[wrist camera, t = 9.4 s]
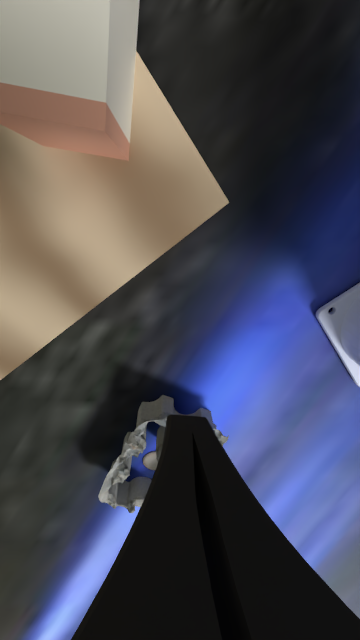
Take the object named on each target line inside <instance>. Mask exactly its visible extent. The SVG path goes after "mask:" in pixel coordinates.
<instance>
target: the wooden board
mask: <svg viewBox="0 0 360 640" xmlns="http://www.w3.org/2000/svg"><path fill="white" fill-rule="evenodd" d="M228 203H229V201H228V199H227V198H226V196H225V195H224V193H223V191H222V190H221V188H220V186H219V185H218V183H217V182H216V180H215V178H214V177H213V175H212V173H211V172H210V170H209V168H208V167H207V165H206V164H205V162H204V160H203V159H202V157H201V155H200V154H199V152H198V151H197V149H196V147H195V146H194V144H193V142H192V141H191V139H190V138H189V136H188V134H187V133H186V131H185V129H184V128H183V126H182V125H181V123H180V121H179V120H178V118H177V116H176V115H175V113H174V111H173V110H172V108H171V107H170V105H169V103H168V102H167V100H166V98H165V97H164V95H163V94H162V92H161V90H160V89H159V87H158V85H157V84H156V82H155V81H154V79H153V77H152V76H151V74H150V72H149V71H148V69H147V68H146V66H145V64H144V63H143V61H142V59H141V58H140V56H139V54H138V53H137V51H136V59H135V74H134V89H133V104H132V119H131V134H130V148H129V161H127V160H121V159H115V158H110V157H104V156H98V155H92V154H87V153H81V152H75V151H69V150H63V149H58V148H52V147H46V146H42V145H40V144H38V143H36V142H34V141H32V140H30V139H28V138H26V137H24V136H23V135H21V134H19V133H17V132H15V131H13V130H11V129H9V128H7V127H5V126H3V125H1V124H0V380H1V379H2V378H4V377H5V376H6V375H8V374H9V373H10V372H11V371H13V370H14V369H15V368H17V367H18V366H19V365H20V364H22V363H23V362H24V361H26V360H27V359H28V358H30V357H31V356H32V355H33V354H35V353H36V352H37V351H39V350H40V349H41V348H42V347H44V346H45V345H46V344H48V343H49V342H50V341H51V340H53V339H54V338H55V337H57V336H58V335H59V334H60V333H62V332H63V331H64V330H66V329H67V328H68V327H69V326H71V325H72V324H73V323H75V322H76V321H77V320H79V319H80V318H81V317H82V316H84V315H85V314H86V313H88V312H89V311H90V310H91V309H93V308H94V307H95V306H97V305H98V304H99V303H100V302H102V301H103V300H104V299H106V298H107V297H108V296H109V295H111V294H112V293H113V292H115V291H116V290H117V289H118V288H120V287H121V286H122V285H124V284H125V283H126V282H128V281H129V280H130V279H131V278H133V277H134V276H135V275H137V274H138V273H139V272H140V271H142V270H143V269H144V268H146V267H147V266H148V265H149V264H151V263H152V262H153V261H155V260H156V259H157V258H158V257H160V256H161V255H162V254H164V253H165V252H166V251H167V250H169V249H170V248H171V247H173V246H174V245H175V244H176V243H178V242H179V241H180V240H182V239H183V238H184V237H186V236H187V235H188V234H189V233H191V232H192V231H193V230H195V229H196V228H197V227H198V226H200V225H201V224H202V223H204V222H205V221H206V220H207V219H209V218H210V217H211V216H213V215H214V214H215V213H216V212H218V211H219V210H220V209H222V208H223V207H224V206H225V205H227V204H228Z"/></svg>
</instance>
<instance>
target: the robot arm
mask: <svg viewBox="0 0 360 640" xmlns="http://www.w3.org/2000/svg"><path fill="white" fill-rule="evenodd" d="M332 307H333V309H332V311H331V312H329V313H328V311H329V309H330V308H332ZM316 318H317V319H318V321H319V323H320V324H321V326H322V328H323V330H324V331H325V333H326V335H327V336H328V338H329V340H330V342H331V343H332V345H333V347H334V348H335V350H336V352H337V353H338V355H339V357H340V359H341V360H342V362H343V364H344V365H345V367H346V369H347V370H348V372H349V374H350V376H351V377H352V379H353V381H354V382H355V384H356V385H358V386H359V387H360V283H358V284H357V285H355V286H354V287H352V288H351V289H349V290H347V291H346V292H344V293H343V294H341V295H340V296H338V297H336V298H335V299H333V300H332V301H330V302H329V303H327V304H325V305H324V306H322V307H321V308H319V309H318V310H317V312H316ZM71 640H360V619H359V618H358V617H357V616H356V615H355V614H354V613H353V612H352V611H351V610H350V609H349V608H348V607H347V606H346V605H345V603H344V602H343V601H342V600H341V599H340V598H339V597H338V596H337V595H336V594H335V593H334V591H333V590H332V589H331V588H330V587H329V586H328V585H327V584H326V583H325V582H324V581H323V580H322V578H321V577H320V576H319V575H318V574H317V573H316V572H315V571H314V570H313V569H312V568H311V566H310V565H309V564H308V563H307V562H306V561H305V560H304V559H303V557H302V556H301V555H300V554H299V553H298V551H297V550H296V549H295V548H294V547H293V545H292V544H291V543H290V542H289V541H288V540H287V538H286V537H285V536H284V535H283V533H282V532H281V531H280V530H279V528H278V527H277V526H276V524H275V523H274V522H273V521H272V519H271V518H270V517H269V515H268V514H267V513H266V511H265V510H264V509H263V507H262V506H261V505H260V503H259V502H258V500H257V499H256V498H255V496H254V495H253V493H252V492H251V491H250V489H249V488H248V486H247V485H246V483H245V482H244V480H243V479H242V477H241V476H240V474H239V473H238V471H237V469H236V468H235V466H234V465H233V463H232V461H231V460H230V458H229V457H228V455H227V453H226V452H225V450H224V448H223V447H222V445H221V443H220V441H219V440H218V438H217V436H216V434H215V432H214V430H213V429H212V427H211V425H210V423H209V421H208V419H207V418H206V417H199V416H187V415H174V414H170V415H169V416H167V420H166V427H165V433H164V439H163V445H162V451H161V455H160V458H159V461H158V464H157V467H156V470H155V473H154V476H153V478H152V481H151V483H150V486H149V489H148V491H147V494H146V496H145V499H144V501H143V503H142V506H141V508H140V510H139V512H138V515H137V517H136V519H135V521H134V523H133V525H132V528H131V530H130V532H129V534H128V536H127V538H126V540H125V542H124V544H123V546H122V548H121V550H120V552H119V554H118V556H117V558H116V560H115V562H114V564H113V566H112V568H111V569H110V571H109V573H108V575H107V577H106V579H105V581H104V582H103V584H102V586H101V588H100V590H99V591H98V593H97V595H96V597H95V598H94V600H93V602H92V604H91V606H90V607H89V609H88V611H87V613H86V614H85V616H84V618H83V620H82V622H81V623H80V625H79V627H78V629H77V630H76V632H75V634H74V635H73V637H72V639H71Z"/></svg>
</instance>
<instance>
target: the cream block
mask: <svg viewBox="0 0 360 640" xmlns="http://www.w3.org/2000/svg"><path fill="white" fill-rule="evenodd" d="M138 15H139V0H0V124H1V125H3V126H5V127H7V128H9V129H11V130H13V131H15V132H17V133H19V134H21V135H23V136H24V137H26V138H28V139H30V140H32V141H34V142H36V143H38V144H40V145H42V146H46V147H52V148H58V149H63V150H69V151H75V152H81V153H87V154H92V155H98V156H104V157H110V158H115V159H121V160H127V161H129V148H130V134H131V119H132V104H133V89H134V74H135V59H136V45H137V30H138Z"/></svg>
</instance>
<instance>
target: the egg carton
mask: <svg viewBox="0 0 360 640" xmlns="http://www.w3.org/2000/svg"><path fill="white" fill-rule="evenodd" d="M170 414H174V415H183V414H180V413H178V412H177V411H176V410H175V408H174V399H173V398H171V397H167V396H165V395H162V396H161V397H160V398H159V399H157V400H155V401H153V402H142V403H141V405H140V407H139V410H138V417H137V424H136V429H135V431H134V432H127V434H126V436H125V438H124V443H123V449H122V454H121V455H120V456H119V457H118V458H117V460H114V461H113V463H112V466H111V469H110V471H109V473H108V475H107V476H106V478H105V481H104V483H103V486H102V488H101V491H100V493H99V500H100V501H101V502H105V503H108V504H109V505H111V506H112V507H113V508H114V509H115V508H116V506H122V507H125V508H127V509H128V511H129V513H133V512H134V511H135V506H138V507H141V506H142V503H143V501H144V499H145V496H146V494H147V491H148V489H149V486H150V483H151V481H152V480H151V479H150V478H147V477H136V478H134V479H132V480H131V481H130V482H127V481H125V479H127V477H128V476H130V468H131V459H132V455H133V456H135V457H138V455H139V453H140V452H141V453H143V450H144V449H145V447H146V429H147V423H148V422H150V421H154V422H156V423H157V424H159V425H161V426H160V427H159V428H158V430H157V440H156V451H152V452H150V453H148V454H146V455H145V456H144V458H143V464H144V466H145V467H146V468H148V469H150V470H156V467H157V464H158V461H159V458H160V455H161V451H162V445H163V439H164V433H165V427H166V420H167V416H169V415H170ZM187 416H199V417H206V418H207V419H208V421H209V423H210V425H211V427H212V429H213V430H214V432H215V434H216V436H217V438H218V440H219V441H220V443H221V445H222V447H223V444H224V443H225V442H226V441H227V440H228V436H229V435H228V436H227V437H225V436H223V435H222V433H221V432H220V431H219V430H216V425H215V424H213V421H212V416H211V411H209V410H206V409H203V408H199V409H198V410H197V411H196V412H195V413H193V414H189V415H187Z"/></svg>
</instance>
